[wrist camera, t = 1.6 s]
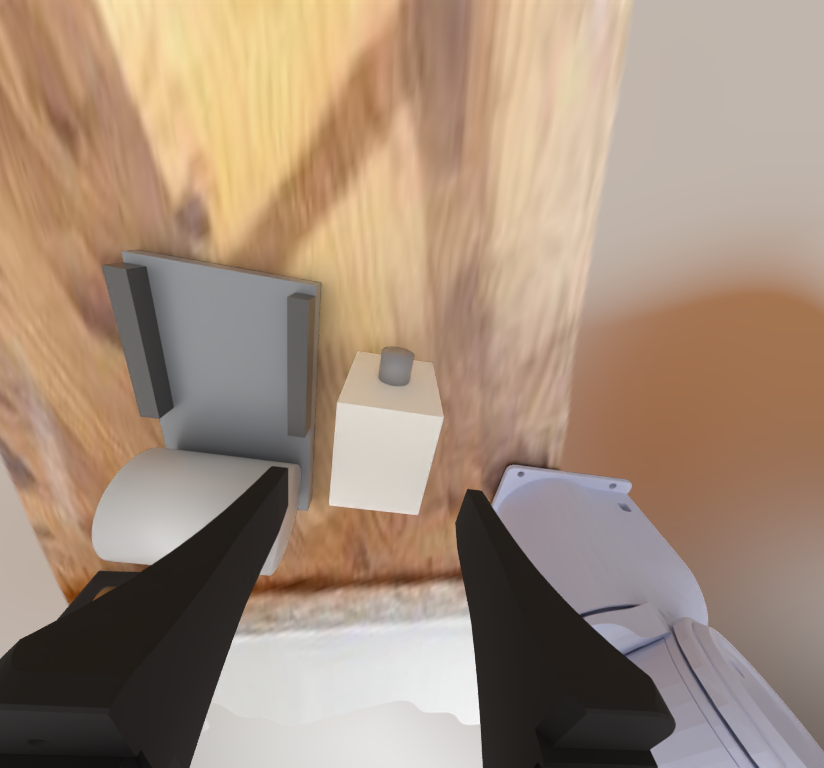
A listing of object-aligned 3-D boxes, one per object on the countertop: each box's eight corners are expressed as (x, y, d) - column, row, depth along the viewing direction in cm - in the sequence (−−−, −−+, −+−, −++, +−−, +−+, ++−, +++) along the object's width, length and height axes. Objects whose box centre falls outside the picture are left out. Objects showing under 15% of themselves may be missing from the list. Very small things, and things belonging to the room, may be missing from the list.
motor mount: (321, 282, 16) (267, 316, 10) (311, 499, 23) (276, 599, 17) (138, 250, 15) (-48, 264, 9) (185, 485, 22) (100, 585, 16)
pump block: (437, 340, 18) (451, 388, 12) (414, 442, 21) (417, 515, 16) (360, 327, 17) (339, 371, 12) (348, 433, 21) (328, 505, 15)
